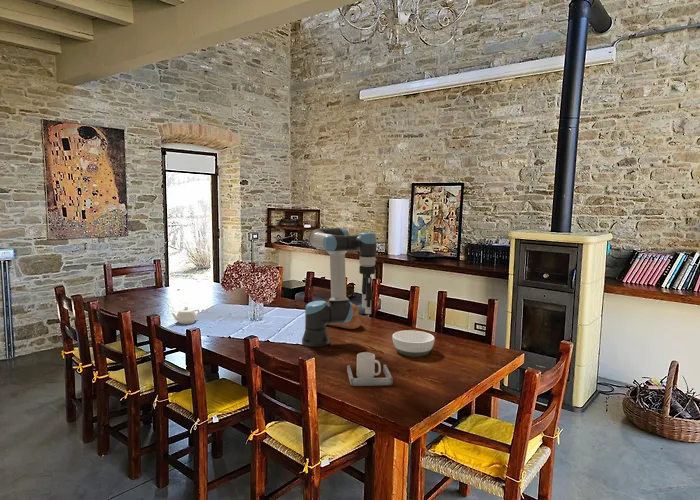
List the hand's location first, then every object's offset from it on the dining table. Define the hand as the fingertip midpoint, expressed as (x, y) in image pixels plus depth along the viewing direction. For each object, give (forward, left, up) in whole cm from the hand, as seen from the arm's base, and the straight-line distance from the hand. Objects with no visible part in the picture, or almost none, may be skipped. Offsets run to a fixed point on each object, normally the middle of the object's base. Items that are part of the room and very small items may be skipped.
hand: (366, 310), depth 219 cm
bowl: (+29, +22, -28) cm, 46 cm away
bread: (-6, +75, -28) cm, 80 cm away
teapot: (-105, +84, -28) cm, 137 cm away
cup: (0, -13, -28) cm, 31 cm away
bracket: (0, -14, -28) cm, 31 cm away
